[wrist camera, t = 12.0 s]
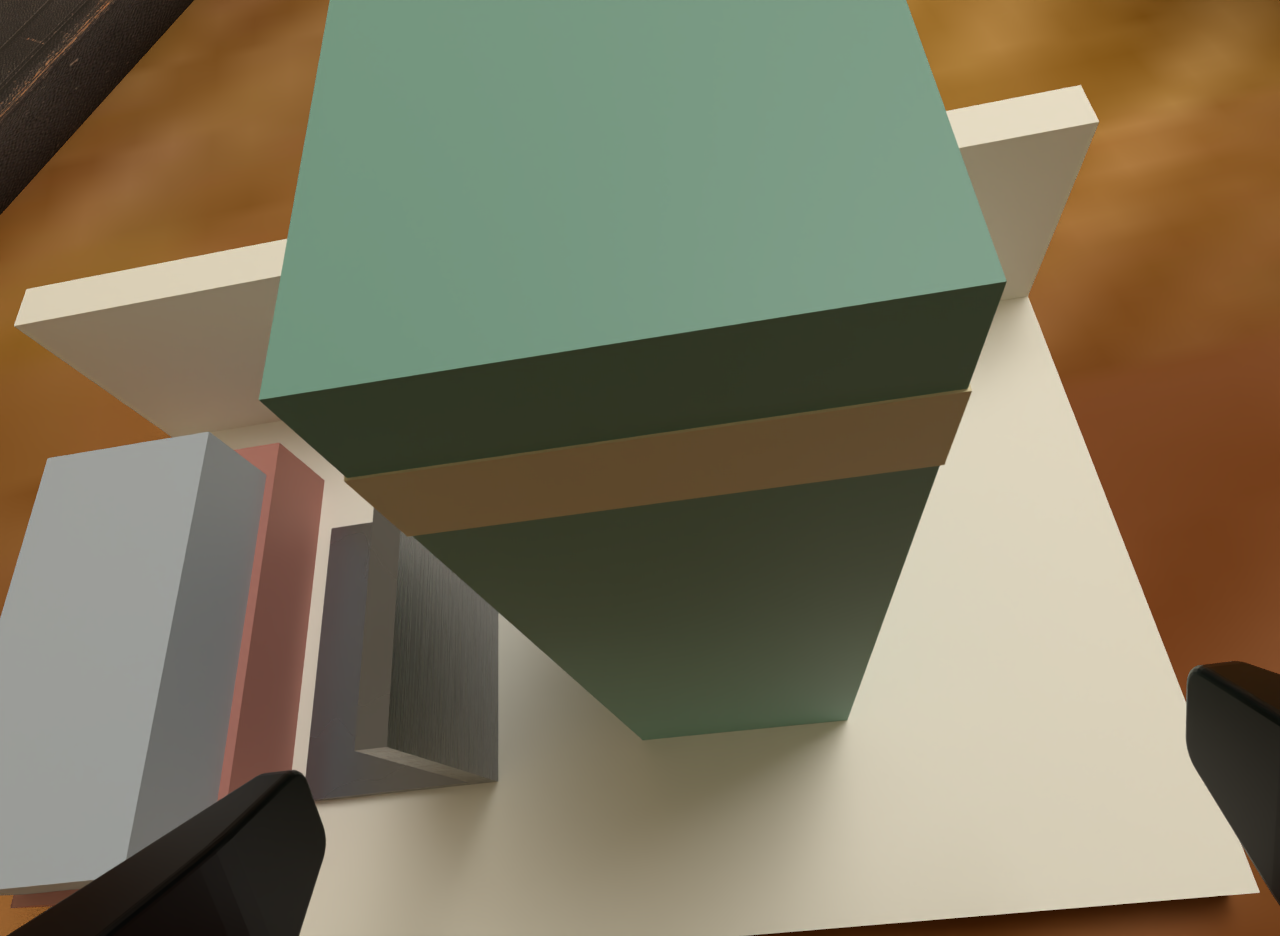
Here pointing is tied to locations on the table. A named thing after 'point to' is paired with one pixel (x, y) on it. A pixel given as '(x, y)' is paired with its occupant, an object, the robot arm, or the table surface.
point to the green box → (641, 326)
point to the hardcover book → (64, 71)
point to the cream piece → (549, 697)
